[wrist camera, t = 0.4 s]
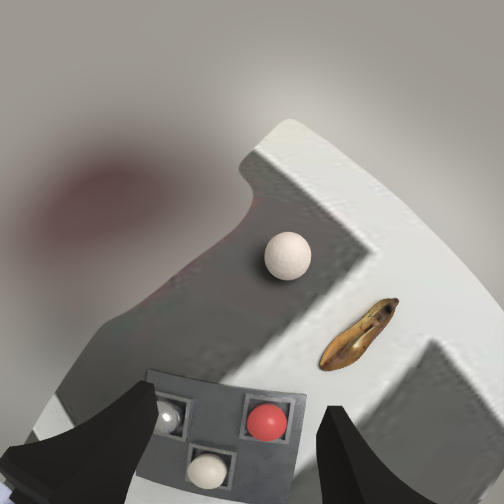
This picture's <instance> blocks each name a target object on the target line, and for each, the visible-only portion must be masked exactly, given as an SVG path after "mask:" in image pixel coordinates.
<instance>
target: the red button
mask: <svg viewBox="0 0 504 504" xmlns="http://www.w3.org/2000/svg"><path fill="white" fill-rule="evenodd" d="M286 426H287V421H286V417H285V414H284V412H283V410H282V409H281V408H280V407H278V406H277V405H275V404H271V403H264V404H260V405H258V406H256V407H255V408H254V409H253V410H252V411H251V413H250V415H249V417H248V420H247V427H248V430H249V432H250V434H251V435H252V436H253V437H254V438H256V439H258V440H261V441H273V440H276V439H277V438H279V437H280V436H281V435H282V434H283V433H284V432H285V430H286Z"/></svg>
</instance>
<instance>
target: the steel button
mask: <svg viewBox="0 0 504 504" xmlns="http://www.w3.org/2000/svg"><path fill="white" fill-rule="evenodd" d="M157 406H158V412H159V416H158V419H157V422H156V425H155V428H154V431H153V433H154V434H156V435H167V434H169V433H171V432H173V431H174V430H176V429H177V428H178V427H179V426H180V425H181V422H182V414H181V411H180V409H179V408H178V406H177V405H176V404H174V403H173V402H171V401H169V400H158V401H157Z"/></svg>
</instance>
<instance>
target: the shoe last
mask: <svg viewBox="0 0 504 504" xmlns="http://www.w3.org/2000/svg"><path fill="white" fill-rule="evenodd" d="M398 303H399V300H398V299H397V298H393V299H389V298H388V299H383V300H381V301H379V302H378V303H377V304H376V305H375V306H374V307H373V308H372V309H371V310H370V311H369V312H368V313H367V314H366V315H365V316H364V317H363V318H362V319H361V320H360V321H358V322H357V323H356V324H354V325H353V326H352V327H350V328H349V329H347V330H346V331H344V332H343V333H341V334H340V335H339V336H338V337H336V338H335V339H334V340H333V341H332V342H331V343H330V345H329V346H328V347H327V349H326V351H325V352H324V354H323V357H322V359H321V362H320V367H321V369H322V370H325V371H332V370H336V369H341V368H343V367H346V366H349V365H350V364H352V363H354V362H355V361H357V360H358V359H359V358H360V357H361V356H362V355H363V353H364V352H365V351H366V349H367V348H368V347H369V345H370V344H371V343H372V341H373V340H374V339H375V338H376V337H377V336H378V335H379V334H380V332H381V331H382V330H383V329H384V328H385V327H386V325H387V324H388V323H389V321H390V320H391V318H392V317H393V314H394V312H395V308H396V306H397V305H398Z"/></svg>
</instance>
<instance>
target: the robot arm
mask: <svg viewBox="0 0 504 504" xmlns="http://www.w3.org/2000/svg"><path fill="white" fill-rule="evenodd" d="M158 416H159V412H158V406H157V400H156V394H155V387H154V384H153V383H149V382H145V381H139V382H138V383H137V384H136V385H134V386H133V387H132V388H131V389H130V390H128V391H127V392H126V393H125V394H124V395H122V396H121V397H120V398H119V399H117V400H116V401H115V402H113V403H112V404H111V405H109V406H108V407H107V408H105V409H104V410H103V411H101V412H100V413H98V414H97V415H95V416H94V417H92V418H91V419H89V420H87V421H86V422H84V423H82V424H81V425H79V426H77V427H75V428H73V429H71V430H69V431H66V432H64V433H62V434H59V435H57V436H54V437H52V438H48V439H45V440H42V441H38V442H35V443H30V444H25V445H19V446H12V447H9V448H8V449H7V450H6V452H5V453H4V454H3V456H2V457H1V458H0V472H1V473H2V475H3V476H4V477H5V478H6V479H7V480H8V481H9V482H10V483H11V484H12V485H13V486H14V487H15V489H14V490H13V491H12V490H11V489H10V488H8V487H7V486H6V485H5V484H4V483H2V482H1V481H0V504H124V502H125V499H126V495H127V492H128V489H129V486H130V483H131V480H132V477H133V474H134V472H135V469H136V467H137V465H138V463H139V461H140V459H141V457H142V455H143V453H144V451H145V449H146V447H147V445H148V443H149V441H150V438H151V436H152V434H153V431H154V428H155V425H156V422H157V419H158ZM316 455H317V463H318V470H319V477H320V484H321V491H322V501H323V504H437V503H434V502H432V501H430V500H429V499H427V498H425V497H424V496H422V495H420V494H419V493H417V492H416V491H414V490H413V489H412V488H410V487H409V486H408V485H406V484H405V483H404V482H403V481H401V480H400V479H399V478H398V477H397V476H396V475H394V474H393V473H392V472H391V471H390V470H389V469H388V468H387V467H386V466H385V465H384V464H383V462H382V461H381V460H380V459H379V458H378V457H377V456H376V454H375V453H374V452H373V451H372V449H371V448H370V447H369V446H368V444H367V443H366V441H365V440H364V439H363V437H362V436H361V434H360V433H359V432H358V430H357V429H356V427H355V426H354V424H353V422H352V421H351V419H350V418H349V416H348V414H347V413H346V411H345V410H344V408H343V407H342V406H327V409H326V412H325V414H324V417H323V419H322V422H321V424H320V427H319V429H318V431H317V434H316Z"/></svg>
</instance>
